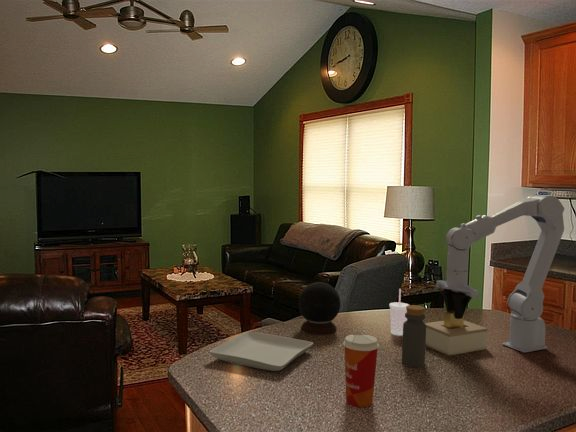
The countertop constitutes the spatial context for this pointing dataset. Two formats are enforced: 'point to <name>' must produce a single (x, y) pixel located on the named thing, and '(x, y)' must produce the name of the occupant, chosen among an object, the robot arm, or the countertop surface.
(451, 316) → the block
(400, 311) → the beverage cup
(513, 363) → the countertop surface
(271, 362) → the salad plate
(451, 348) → the cream box with slot
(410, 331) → the bottle
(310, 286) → the black ball on stand
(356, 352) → the paper cup
